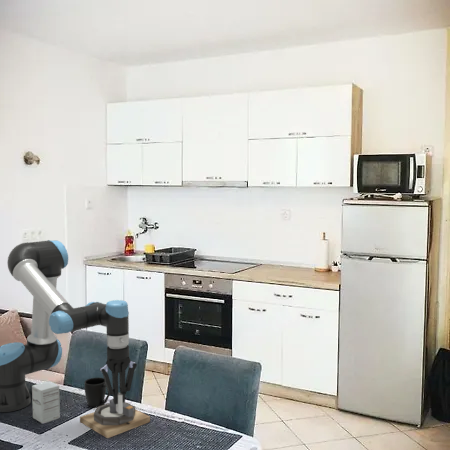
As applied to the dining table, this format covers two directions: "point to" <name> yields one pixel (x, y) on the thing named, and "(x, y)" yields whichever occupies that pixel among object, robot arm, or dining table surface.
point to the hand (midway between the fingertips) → (119, 412)
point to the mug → (95, 392)
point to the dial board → (114, 428)
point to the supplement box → (45, 402)
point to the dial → (113, 413)
